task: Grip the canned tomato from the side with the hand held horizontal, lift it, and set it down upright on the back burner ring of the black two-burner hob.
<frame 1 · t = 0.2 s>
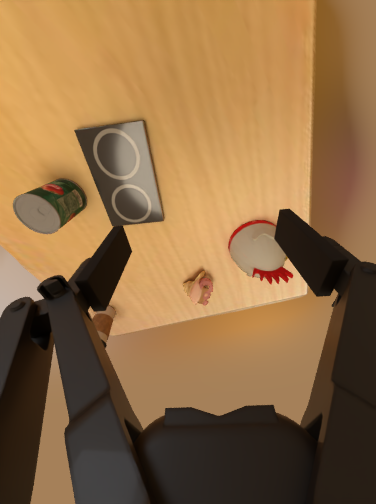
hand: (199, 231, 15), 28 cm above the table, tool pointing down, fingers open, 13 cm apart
canned tomato: (69, 195, 42), on the table
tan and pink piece: (198, 279, 57), on the table
kitchen timer: (253, 242, 49), on the table
hob: (127, 180, 40), on the table
coffee cup: (107, 309, 67), on the table
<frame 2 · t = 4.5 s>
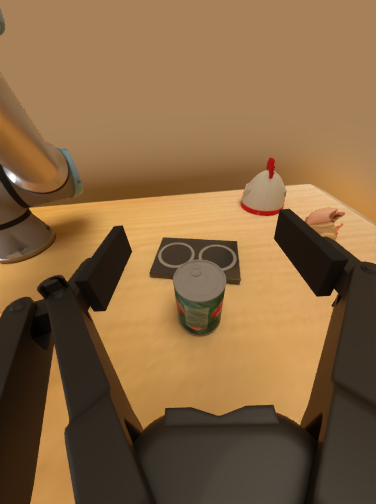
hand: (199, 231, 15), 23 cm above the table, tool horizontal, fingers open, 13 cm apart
canned tomato: (199, 315, 34), on the table
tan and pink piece: (314, 234, 51), on the table
kitchen timer: (261, 205, 64), on the table
hob: (196, 260, 45), on the table
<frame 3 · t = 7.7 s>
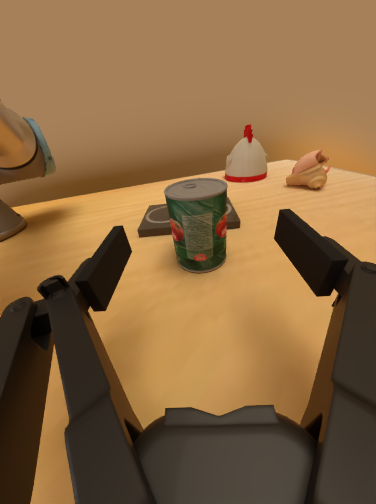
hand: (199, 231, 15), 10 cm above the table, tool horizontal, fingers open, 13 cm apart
canned tomato: (201, 257, 29), on the table
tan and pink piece: (303, 186, 50), on the table
kitchen timer: (245, 177, 63), on the table
hob: (188, 218, 41), on the table
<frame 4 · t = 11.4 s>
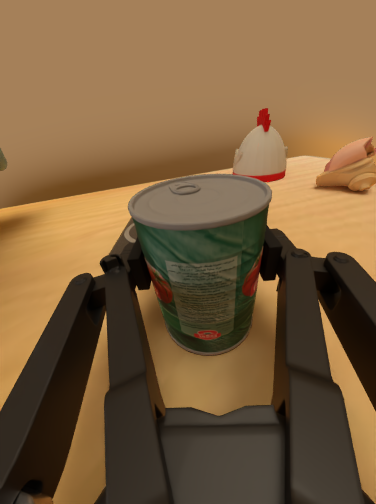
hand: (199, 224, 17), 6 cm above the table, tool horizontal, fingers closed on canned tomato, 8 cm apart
canned tomato: (207, 312, 17), on the table, touching gripper
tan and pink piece: (340, 188, 37), on the table
kitchen timer: (257, 176, 51), on the table
hob: (186, 234, 28), on the table
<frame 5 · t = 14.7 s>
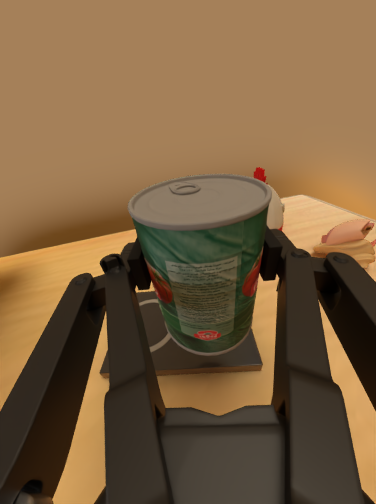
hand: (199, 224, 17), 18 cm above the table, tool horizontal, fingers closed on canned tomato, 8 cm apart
canned tomato: (207, 312, 17), point 11 cm above the table, touching gripper
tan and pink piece: (337, 257, 37), on the table
kitchen timer: (254, 226, 51), on the table
hob: (181, 327, 28), on the table
when the fingers open (8 cm above the table, at t = 18.5 s): canned tomato stays where it is, resting on hob.
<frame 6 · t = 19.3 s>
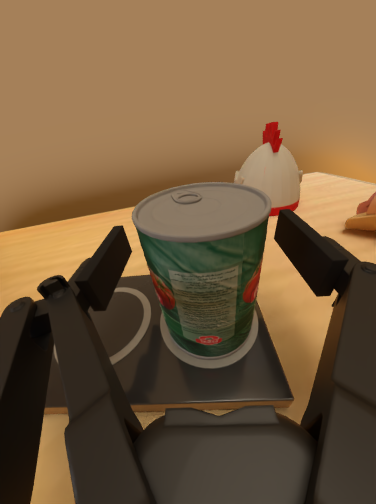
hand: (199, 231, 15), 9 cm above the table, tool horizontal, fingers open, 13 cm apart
canned tomato: (208, 316, 17), point 2 cm above the table, touching hob
kitchen timer: (262, 203, 41), on the table
hob: (158, 328, 18), on the table
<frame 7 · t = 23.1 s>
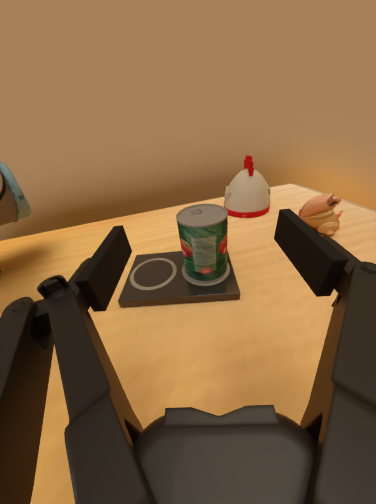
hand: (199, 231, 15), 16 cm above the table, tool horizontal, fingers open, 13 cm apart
canned tomato: (205, 268, 34), point 2 cm above the table, touching hob
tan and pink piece: (312, 228, 44), on the table
kitchen timer: (245, 209, 58), on the table
hob: (180, 276, 35), on the table
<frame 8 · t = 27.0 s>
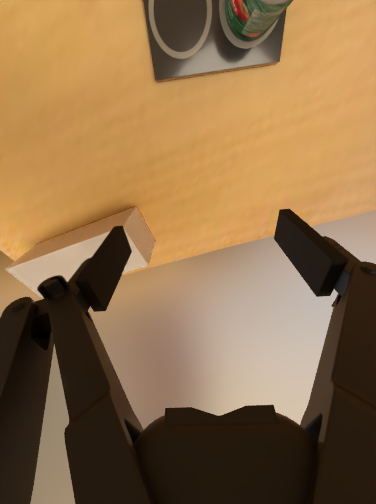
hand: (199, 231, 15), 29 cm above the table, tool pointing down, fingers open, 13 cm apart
canned tomato: (251, 1, 25), point 2 cm above the table, touching hob
hob: (214, 13, 27), on the table
beige rectangular block: (95, 242, 50), on the table
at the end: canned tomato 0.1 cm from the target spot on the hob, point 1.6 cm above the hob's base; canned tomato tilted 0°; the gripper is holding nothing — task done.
